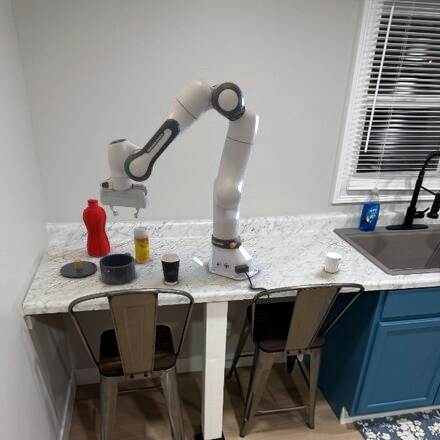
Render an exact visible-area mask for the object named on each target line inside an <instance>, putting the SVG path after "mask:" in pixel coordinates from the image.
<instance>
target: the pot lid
mask: <svg viewBox="0 0 440 440" xmlns="http://www.w3.org/2000/svg"><path fill="white" fill-rule="evenodd" d="M97 269H98V266H97V264H96V263H94V262H93V261H88V260H81V259H79V258H77V259H74V260H73V261H72V262H68V263H65V264H64V265H62V266H61V267H60V269H59V271H60V274H61V275H62V276H65V277H67V278H82V277H86V276H90V275H92V274H94V273H95V272H96V271H97Z"/></svg>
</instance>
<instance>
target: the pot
mask: <svg viewBox="0 0 440 440" xmlns="http://www.w3.org/2000/svg"><path fill="white" fill-rule="evenodd" d="M98 262H99V263H98V264H99V271H100V279H101V281H102V282H103V283H104V284H107V285H112V286H113V285H114V286H120V285H125V284H129V283H131V282H133V281H134V280H135V279H136V277H137V272H136V258H135V257H134V256H132V253H131V252H130V253H129V252H124V253H112V254H107V255H105V256H102V257H101V258H100V259H99V261H98Z"/></svg>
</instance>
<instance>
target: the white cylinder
mask: <svg viewBox="0 0 440 440" xmlns="http://www.w3.org/2000/svg"><path fill="white" fill-rule="evenodd" d="M324 256H325V257H324V258H325V259H324V271H325V272H327V273H337V272H338V270H339V268H340V264H341V261H342V257H343V256H342V254H340V253H339V252H333V251H330V252H326V253H325V255H324Z"/></svg>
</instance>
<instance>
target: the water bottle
mask: <svg viewBox="0 0 440 440" xmlns="http://www.w3.org/2000/svg"><path fill="white" fill-rule="evenodd" d="M86 201H87V207H85V209H83V212H82V221H83V224H84V225H85V229H86V231H87V236H86V237H87V238H86V252H87V255H89V256H91V257H101V258H103V257H105V256H107V255H109V253H110V252H111V244H110V240H109V238H108V233H107V231H106V225H107V218H108V217H107V211H106V210H105V208H104V207H102V206H100V205H99V200H98V199H94V198H89V199H87V200H86Z"/></svg>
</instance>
